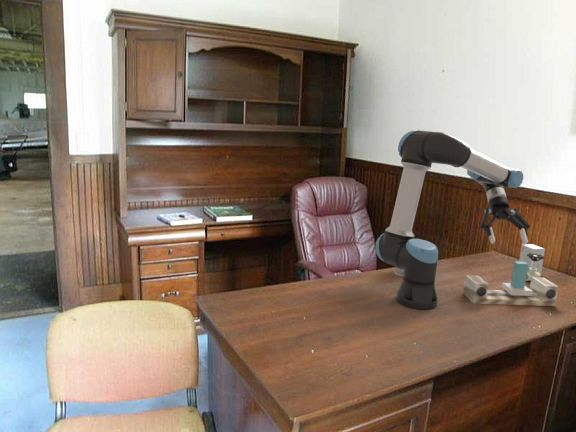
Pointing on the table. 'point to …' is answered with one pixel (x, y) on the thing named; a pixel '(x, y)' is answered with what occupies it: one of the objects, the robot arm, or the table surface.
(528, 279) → the valve
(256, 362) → the table surface
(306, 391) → the table surface
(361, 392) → the table surface
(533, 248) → the small box
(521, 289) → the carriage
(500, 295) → the rail board
